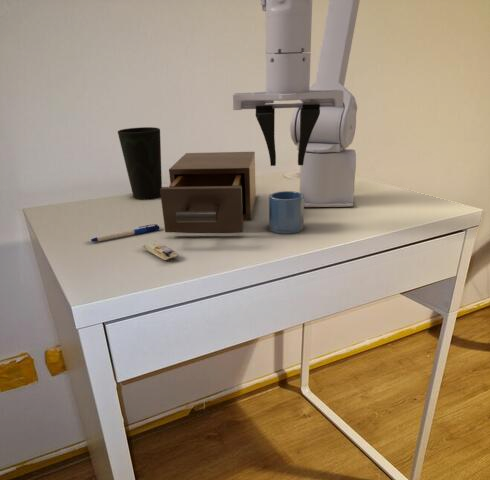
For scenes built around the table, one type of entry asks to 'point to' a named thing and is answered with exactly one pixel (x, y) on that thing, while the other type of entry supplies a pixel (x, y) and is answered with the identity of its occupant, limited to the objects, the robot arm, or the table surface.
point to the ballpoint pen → (127, 233)
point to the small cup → (286, 212)
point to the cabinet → (221, 170)
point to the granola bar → (160, 250)
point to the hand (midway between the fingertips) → (286, 164)
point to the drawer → (204, 203)
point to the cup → (142, 160)
